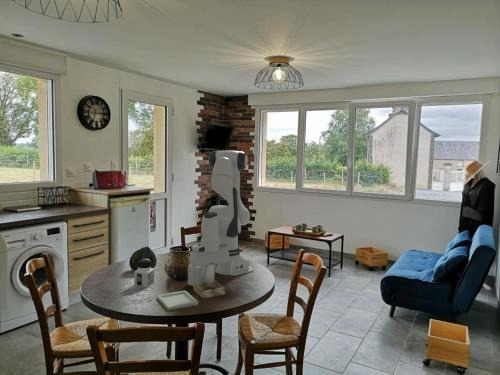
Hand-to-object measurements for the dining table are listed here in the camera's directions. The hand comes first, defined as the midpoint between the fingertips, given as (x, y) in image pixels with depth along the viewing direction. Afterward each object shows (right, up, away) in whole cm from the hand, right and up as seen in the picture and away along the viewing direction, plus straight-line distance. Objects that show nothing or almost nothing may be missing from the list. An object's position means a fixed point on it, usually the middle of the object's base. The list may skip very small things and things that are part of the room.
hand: (209, 273), depth 183 cm
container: (-35, -8, +9) cm, 37 cm away
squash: (-43, -6, +33) cm, 54 cm away
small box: (-8, -9, +11) cm, 16 cm away
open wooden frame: (0, -10, 0) cm, 10 cm away
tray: (-14, -10, -12) cm, 21 cm away
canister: (0, -4, 0) cm, 4 cm away
